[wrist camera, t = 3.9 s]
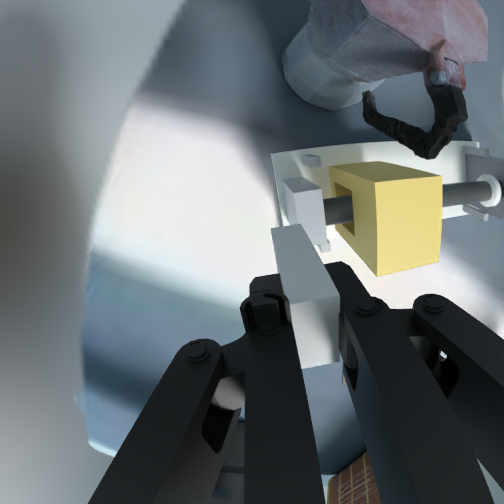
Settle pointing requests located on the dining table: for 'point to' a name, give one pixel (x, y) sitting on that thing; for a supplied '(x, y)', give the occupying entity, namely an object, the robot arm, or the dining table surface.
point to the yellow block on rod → (390, 214)
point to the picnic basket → (354, 484)
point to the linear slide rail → (445, 164)
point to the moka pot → (389, 59)
